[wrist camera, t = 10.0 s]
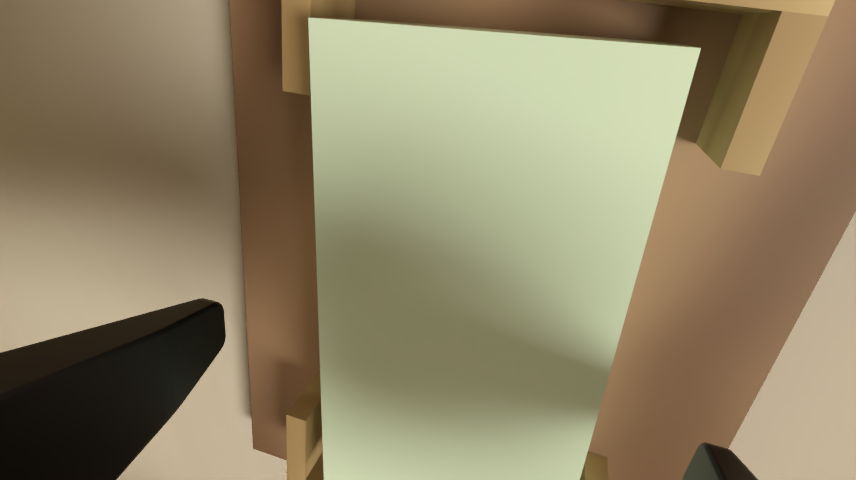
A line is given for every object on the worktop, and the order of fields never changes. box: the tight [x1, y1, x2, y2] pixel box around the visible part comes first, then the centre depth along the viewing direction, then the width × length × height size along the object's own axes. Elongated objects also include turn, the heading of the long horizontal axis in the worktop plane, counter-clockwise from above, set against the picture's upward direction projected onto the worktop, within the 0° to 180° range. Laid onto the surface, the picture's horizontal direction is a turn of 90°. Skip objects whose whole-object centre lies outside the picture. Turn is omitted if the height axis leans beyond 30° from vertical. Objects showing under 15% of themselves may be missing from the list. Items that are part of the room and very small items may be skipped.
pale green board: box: [308, 17, 701, 480], centre depth 11 cm, size 6×12×3 cm, turn 176°
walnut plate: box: [229, 0, 856, 480], centre depth 12 cm, size 14×18×3 cm
